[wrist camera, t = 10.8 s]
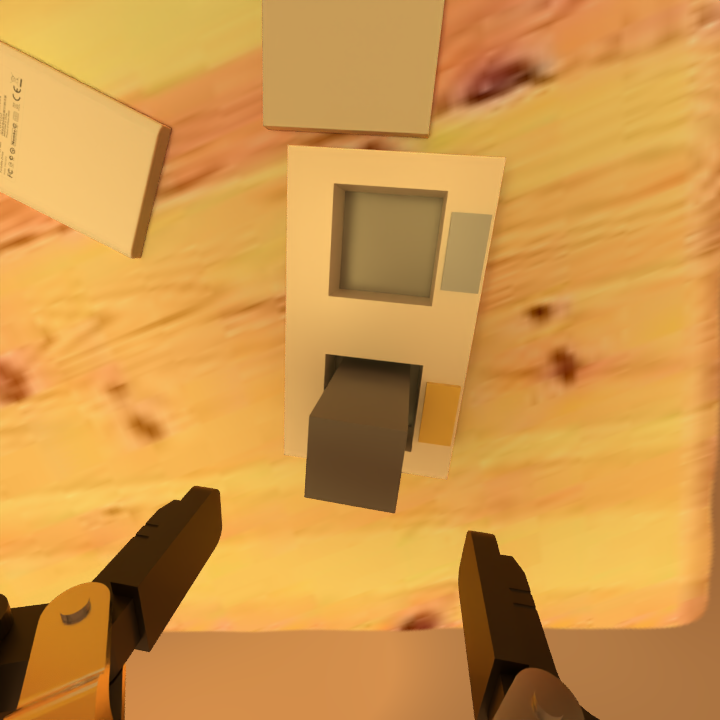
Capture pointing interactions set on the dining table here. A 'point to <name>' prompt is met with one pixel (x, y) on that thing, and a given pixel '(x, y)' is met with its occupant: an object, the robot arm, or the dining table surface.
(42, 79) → the external hard drive
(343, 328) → the socket block
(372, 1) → the mat
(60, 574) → the dining table surface
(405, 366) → the plug
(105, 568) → the robot arm
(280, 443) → the dining table surface
